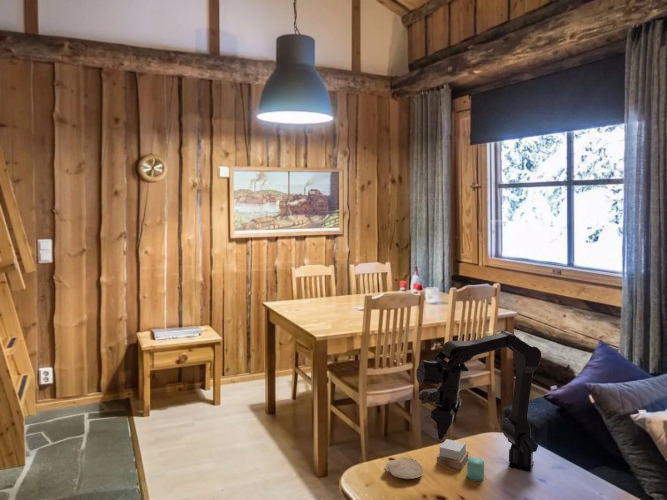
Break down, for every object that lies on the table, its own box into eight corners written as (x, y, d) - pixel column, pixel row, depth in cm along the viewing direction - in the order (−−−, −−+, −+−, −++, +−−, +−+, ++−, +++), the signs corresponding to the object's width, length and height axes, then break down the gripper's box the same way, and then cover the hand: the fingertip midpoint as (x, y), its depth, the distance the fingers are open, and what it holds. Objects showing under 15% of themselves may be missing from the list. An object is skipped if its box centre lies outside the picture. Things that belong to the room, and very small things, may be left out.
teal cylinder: (485, 475, 165) (486, 459, 165) (481, 482, 161) (481, 467, 160) (469, 471, 168) (469, 456, 167) (465, 478, 163) (465, 463, 163)
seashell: (430, 479, 163) (430, 470, 163) (397, 488, 159) (397, 478, 158) (410, 462, 174) (411, 453, 174) (378, 469, 169) (378, 461, 169)
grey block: (465, 452, 175) (465, 443, 174) (459, 460, 169) (459, 451, 169) (446, 447, 178) (446, 439, 178) (439, 455, 173) (439, 447, 172)
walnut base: (468, 460, 175) (468, 451, 175) (461, 471, 169) (461, 462, 168) (444, 454, 179) (444, 446, 179) (436, 465, 173) (436, 456, 172)
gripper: (429, 371, 173) (423, 417, 174) (416, 386, 156) (410, 437, 157) (464, 378, 169) (457, 426, 170) (455, 395, 152) (448, 448, 153)
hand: (443, 434), depth 162 cm, fingers open, 9 cm apart
